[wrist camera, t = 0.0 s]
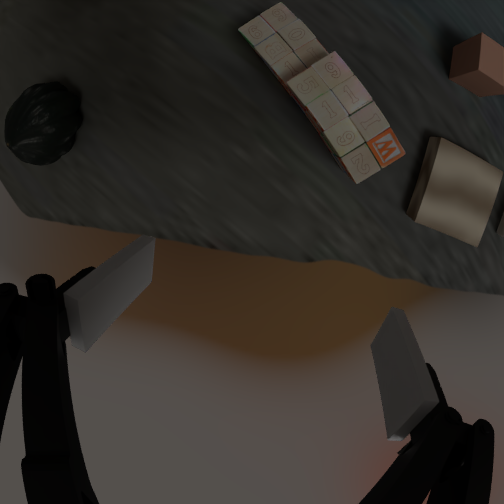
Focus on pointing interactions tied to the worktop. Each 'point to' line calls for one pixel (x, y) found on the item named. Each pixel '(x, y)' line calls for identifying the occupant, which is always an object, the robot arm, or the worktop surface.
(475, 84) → the terracotta block
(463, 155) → the birch base block
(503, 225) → the off-white block
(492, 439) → the robot arm
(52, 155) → the squash
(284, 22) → the stack of blocks
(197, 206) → the worktop surface
